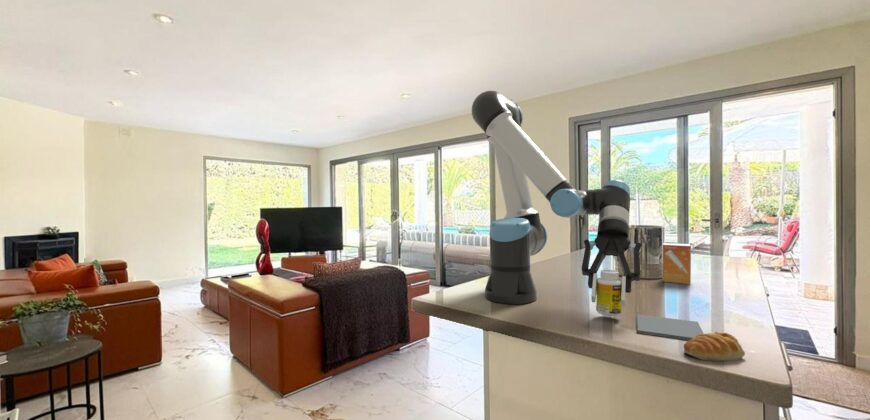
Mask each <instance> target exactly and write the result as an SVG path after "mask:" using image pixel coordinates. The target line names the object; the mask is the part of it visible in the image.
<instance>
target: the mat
mask: <svg viewBox="0 0 870 420" xmlns="http://www.w3.org/2000/svg"><path fill="white" fill-rule="evenodd" d="M636 317H637V318H636V320H637V321H636V322H637V326H636V327H637V334H642V335H649V336H657V337H664V338H669V339H670V338H672V339H677V338H679V339H678V340H685V341H689V340H690V339H693V338H695V337H696V336H697V335H699V334H705V333H704V331H703V329H702V327H701V326H700V324H699V322H698V321H695V320H694V321H693V320H686V319H678V318H669V317H662V316H653V315H646V314H645V315H644V314H636Z"/></svg>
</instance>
